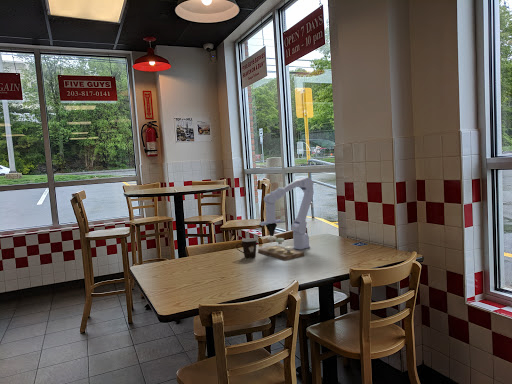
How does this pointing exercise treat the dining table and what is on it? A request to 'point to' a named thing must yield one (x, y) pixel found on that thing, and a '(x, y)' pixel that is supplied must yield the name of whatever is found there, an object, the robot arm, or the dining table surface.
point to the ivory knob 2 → (288, 248)
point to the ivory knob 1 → (272, 238)
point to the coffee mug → (248, 247)
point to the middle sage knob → (280, 240)
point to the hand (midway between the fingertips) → (271, 235)
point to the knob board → (280, 252)
